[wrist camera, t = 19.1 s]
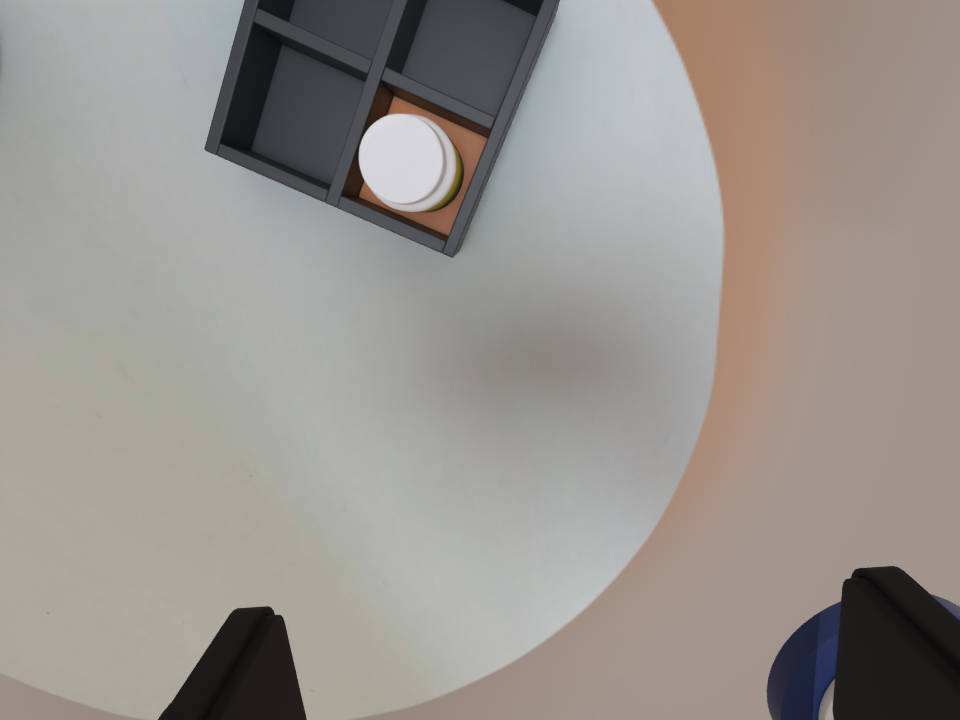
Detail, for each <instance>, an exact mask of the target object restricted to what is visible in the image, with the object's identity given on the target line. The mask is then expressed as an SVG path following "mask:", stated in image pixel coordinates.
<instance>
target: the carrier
mask: <svg viewBox="0 0 960 720" xmlns="http://www.w3.org/2000/svg"><path fill="white" fill-rule="evenodd" d="M559 2H560V0H245V2H244V5H243V9H242V13H241V16H240V20H239V24H238V27H237V31H236V35H235V39H234V42H233V46H232V50H231V53H230V57H229V61H228V64H227V68H226V72H225V75H224V79H223V83H222V86H221V90H220V94H219V97H218V101H217V105H216V109H215V112H214V116H213V120H212V123H211V127H210V131H209V134H208V138H207V142H206V145H205V150H206V151H208V152H210V153H212V154H215V155H218V156H219V157H222V158H224V159H226V160H229V161H231V162H233V163H235V164H238V165H240V166H242V167H245V168H247V169H249V170H252V171H254V172H256V173H258V174H261V175H263V176H265V177H268V178H270V179H272V180H275V181H277V182H279V183H281V184H284V185H286V186H288V187H291V188H293V189H295V190H298V191H300V192H302V193H305V194H307V195H309V196H311V197H314V198H316V199H318V200H321V201H323V202H326V203H327V204H330V205H332V206H334V207H337V208H339V209H341V210H344V211H346V212H348V213H350V214H353V215H355V216H357V217H360V218H362V219H364V220H367V221H369V222H371V223H373V224H376V225H378V226H380V227H383V228H385V229H387V230H390V231H392V232H394V233H397V234H399V235H401V236H403V237H406V238H408V239H410V240H413V241H415V242H417V243H420V244H422V245H424V246H426V247H429V248H431V249H433V250H436V251H438V252H440V253H443V254H445V255H447V256H450V257H454V256H455V255H456V254H457V253H458V252H459V249H460V247H461V245H462V242H463V240H464V237H465V235H466V232H467V230H468V228H469V225H470V223H471V220H472V218H473V215H474V213H475V210H476V208H477V206H478V203H479V201H480V198H481V196H482V193H483V191H484V189H485V186H486V184H487V181H488V179H489V176H490V174H491V171H492V169H493V167H494V164H495V162H496V159H497V157H498V154H499V152H500V149H501V147H502V145H503V142H504V140H505V137H506V135H507V132H508V130H509V128H510V125H511V123H512V120H513V118H514V115H515V113H516V110H517V108H518V106H519V103H520V101H521V98H522V96H523V93H524V91H525V88H526V86H527V84H528V81H529V79H530V76H531V74H532V71H533V69H534V67H535V64H536V62H537V59H538V57H539V54H540V52H541V49H542V47H543V45H544V42H545V40H546V37H547V35H548V32H549V30H550V27H551V25H552V23H553V20H554V18H555V15H556V12H557V9H558V5H559ZM391 114H415V115H420V116H423V117H425V118H428V119H430V120H431V121H433V122H434V123H436V124H437V125H439V126H440V127H441V128H442V129H443V130H444V131H445V133H446V134H447V135H448V136H449V138H450V139H451V141H452V142H453V144H454V145H455V146H456V148H457V149H458V151H459V153H460V155H461V157H462V161H463V165H464V177H463V183H462V186H461V189H460V191H459V193H458V194H457V196H456V197H455V199H454V200H453V201H452V202H451V203H450V204H448V205H447V206H446V207H444V208H442V209H440V210H437V211H433V212H406V211H400V210H397V209H394V208H391V207H389V206H388V205H386V204H384V203H383V202H382V201H381V200H379V199H378V198H377V196H376V195H375V194H374V193H373V192H372V190H371V189H370V188H369V186H368V185H367V184H366V182H365V180H364V178H363V176H362V173H361V170H360V166H359V148H360V144H361V141H362V139H363V136H364V134H365V133H366V131H367V130H368V129H369V127H370V126H371V125H372V124H373V123H374V122H376V121H377V120H379V119H380V118H382V117H385V116H387V115H391Z"/></svg>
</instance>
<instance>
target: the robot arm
mask: <svg viewBox="0 0 960 720" xmlns="http://www.w3.org/2000/svg"><path fill="white" fill-rule="evenodd" d="M158 720H307V719H306V715H305V710H304V706H303V701H302V697H301V692H300V688H299V684H298V679H297V675H296V670H295V666H294V662H293V657H292V653H291V648H290V644H289V640H288V635H287V631H286V626H285V622H284V619H283V617H282V616H281V615H275V614H274V611H273V609H272V608H271V607H268V606H267V607H252V608H237V609H235V610H233V612H232V613H231V614H230V615H229V617H228V618H227V620H226V621H225V623H224V624H223V626H222V627H221V629H220V630H219V632H218V633H217V635H216V636H215V638H214V639H213V641H212V642H211V644H210V645H209V647H208V648H207V650H206V651H205V653H204V654H203V656H202V657H201V659H200V660H199V662H198V663H197V665H196V666H195V668H194V669H193V671H192V672H191V674H190V675H189V677H188V678H187V680H186V681H185V683H184V684H183V686H182V687H181V689H180V691H179V692H178V694H177V695H176V697H175V698H174V700H173V701H172V703H170V705H169V706H168V707H167V708H166V709H165V711H164V712H163V713H162V714H161V716H160V717H159V719H158ZM818 720H960V620H959V619H958V618H956V617H955V616H954V615H953V614H952V613H951V612H950V611H949V610H947V609H946V608H945V607H944V606H943V605H942V604H941V603H940V602H938V601H937V600H936V599H935V598H934V597H933V596H932V595H930V594H929V593H928V592H927V591H926V590H925V589H924V588H923V587H921V586H920V585H919V584H918V583H917V582H916V581H915V580H914V579H912V578H911V577H910V576H909V575H908V574H906V573H905V572H904V571H903V570H901V569H900V568H898V567H895V566H888V567H872V568H859V569H856V570H854V572H853V574H852V577H851V579H846V580H845V581H844V582H843V588H842V599H841V611H840V623H839V635H838V647H837V659H836V671H835V679H834V680H833V681H832V682H831V684H830V685H829V687H828V689H827V690H826V692H825V693H824V696H823V698H822V701H821V704H820V708H819V715H818Z"/></svg>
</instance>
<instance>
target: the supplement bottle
mask: <svg viewBox="0 0 960 720" xmlns="http://www.w3.org/2000/svg"><path fill="white" fill-rule="evenodd" d="M359 166H360V170H361V173H362V176H363V178H364V180H365V182H366V184H367V185H368V186H369V188H370V189H371V190H372V192H373V193H374V194H375V195H376V196H377V198H378V199H379V200H381V201H382V202H383V203H384V204H386V205H388V206H389V207H391V208H394V209H397V210H400V211H406V212H433V211H437V210H440V209H442V208H444V207H446V206H447V205H448V204H450V203H451V202H452V201H453V200H454V199H455V197H456V196H457V194H458V193H459V191H460V189H461V186H462V183H463V177H464V165H463V161H462V157H461V155H460V153H459V151H458V149H457V148H456V146H455V145H454V144H453V142H452V141H451V139H450V138H449V136H448V135H447V134H446V133H445V131H444V130H443V129H442V128H441V127H440V126H439V125H437V124H436V123H434V122H433V121H431V120H430V119H428V118H425V117H423V116H420V115H415V114H391V115H387V116H385V117H382V118H380V119H379V120H377V121H376V122H374V123H373V124H372V125H371V126H370V127H369V129H368V130H367V131H366V133H365V134H364V136H363V139H362V141H361V144H360V148H359Z"/></svg>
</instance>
